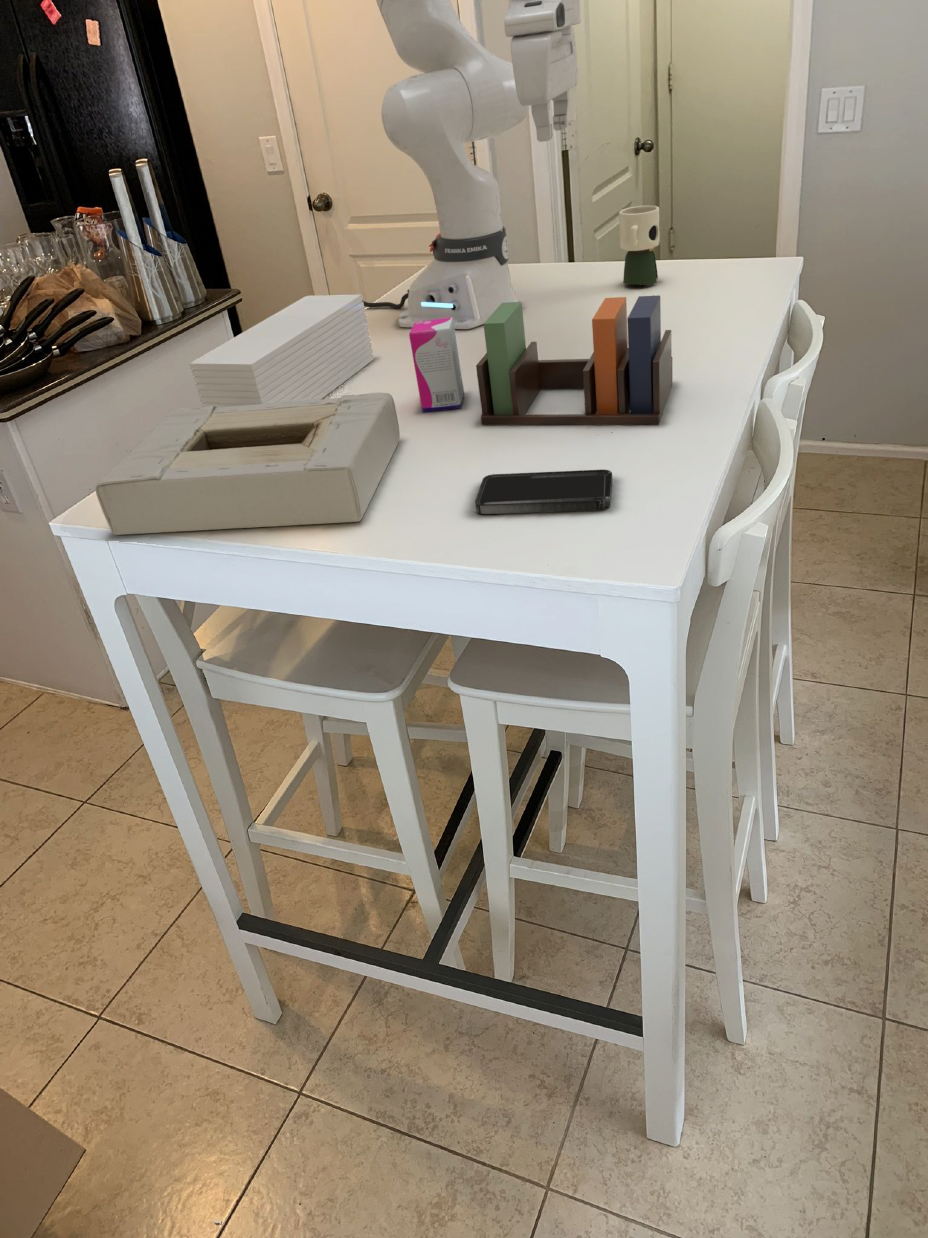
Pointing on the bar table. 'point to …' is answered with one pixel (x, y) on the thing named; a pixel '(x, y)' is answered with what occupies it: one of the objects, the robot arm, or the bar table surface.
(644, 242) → the character mug
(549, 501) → the phone
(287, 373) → the white long layered block
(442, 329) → the supplement box
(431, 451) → the bar table surface
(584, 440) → the bar table surface
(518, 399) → the book rack
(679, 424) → the bar table surface
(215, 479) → the box
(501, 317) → the green book
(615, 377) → the orange book
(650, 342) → the navy book
